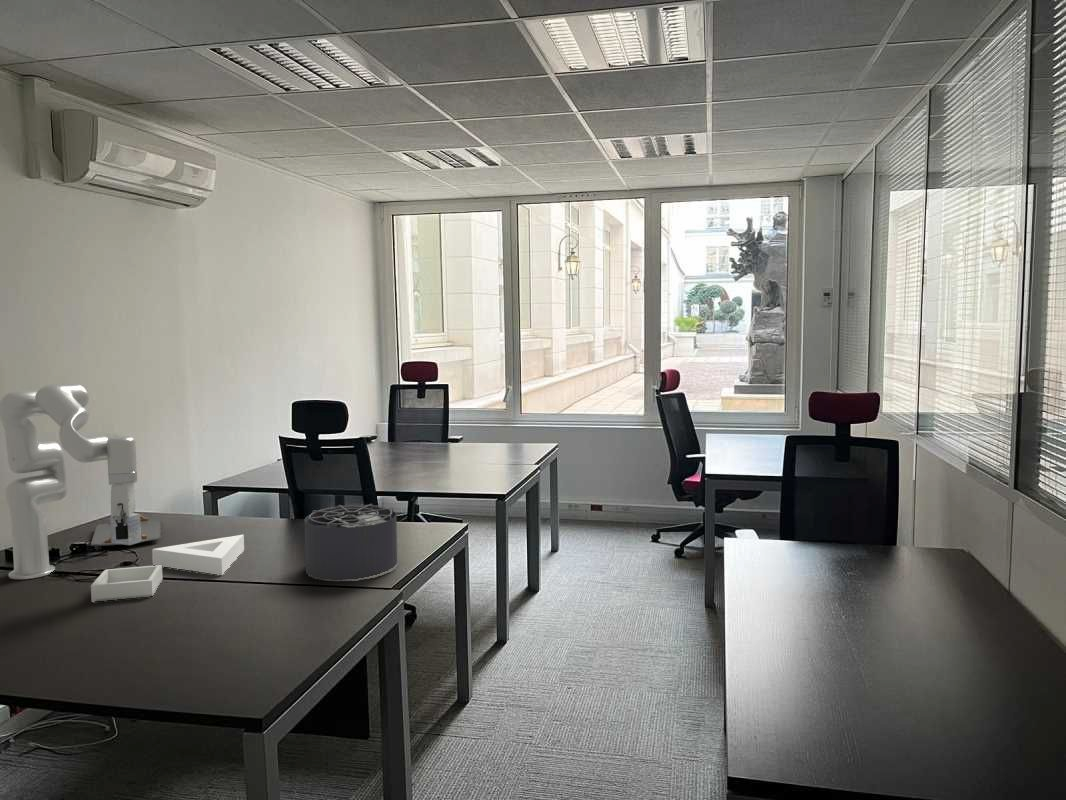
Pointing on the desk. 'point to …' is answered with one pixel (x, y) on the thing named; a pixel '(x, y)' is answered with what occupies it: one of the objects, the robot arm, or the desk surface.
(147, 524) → the serving board
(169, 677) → the desk surface
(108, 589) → the box
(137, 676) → the desk surface
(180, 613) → the desk surface
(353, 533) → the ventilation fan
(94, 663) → the desk surface
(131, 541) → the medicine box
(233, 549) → the triangular ruler
